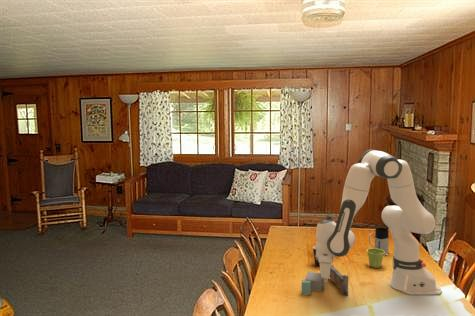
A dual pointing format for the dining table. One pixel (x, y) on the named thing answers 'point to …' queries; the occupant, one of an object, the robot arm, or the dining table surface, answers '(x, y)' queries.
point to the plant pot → (375, 257)
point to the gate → (336, 277)
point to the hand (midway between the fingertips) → (325, 280)
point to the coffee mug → (315, 257)
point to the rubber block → (315, 281)
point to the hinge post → (345, 285)
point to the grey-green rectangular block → (306, 287)
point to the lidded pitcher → (381, 239)
